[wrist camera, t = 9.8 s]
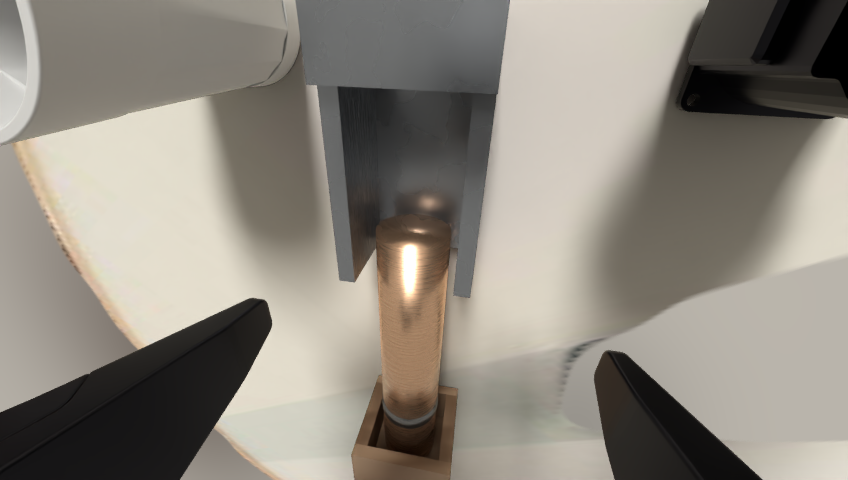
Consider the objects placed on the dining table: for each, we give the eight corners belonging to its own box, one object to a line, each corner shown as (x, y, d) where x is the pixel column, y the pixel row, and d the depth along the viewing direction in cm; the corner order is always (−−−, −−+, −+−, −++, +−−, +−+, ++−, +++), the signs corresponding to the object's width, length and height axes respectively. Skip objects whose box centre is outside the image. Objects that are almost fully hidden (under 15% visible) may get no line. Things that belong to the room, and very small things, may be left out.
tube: (386, 210, 19) (363, 243, 15) (455, 217, 18) (447, 253, 15) (391, 408, 28) (378, 457, 25) (437, 417, 28) (430, 468, 24)
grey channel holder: (363, 9, 15) (292, -25, 10) (502, 11, 15) (513, -25, 9) (374, 229, 21) (333, 289, 16) (474, 240, 20) (469, 308, 15)
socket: (457, 388, 27) (450, 475, 22) (454, 417, 29) (446, 503, 24) (378, 375, 28) (351, 455, 22) (380, 403, 30) (355, 483, 24)
